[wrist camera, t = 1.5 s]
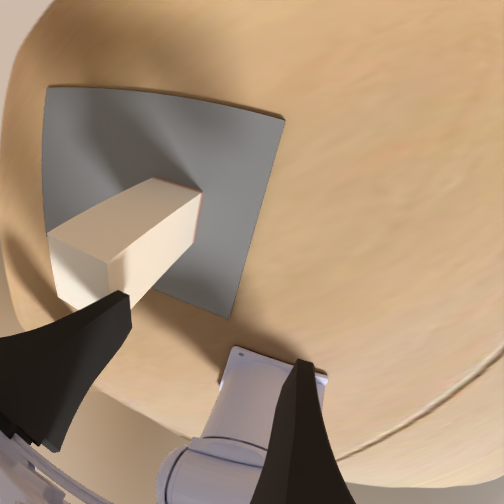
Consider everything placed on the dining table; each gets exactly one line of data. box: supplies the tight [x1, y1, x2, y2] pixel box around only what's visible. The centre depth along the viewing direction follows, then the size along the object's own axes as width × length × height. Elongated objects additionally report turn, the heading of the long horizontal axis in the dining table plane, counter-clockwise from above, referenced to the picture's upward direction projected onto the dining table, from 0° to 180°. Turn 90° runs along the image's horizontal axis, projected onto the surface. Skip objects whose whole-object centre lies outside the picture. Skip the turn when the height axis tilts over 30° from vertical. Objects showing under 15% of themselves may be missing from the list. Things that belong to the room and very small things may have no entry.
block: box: [47, 177, 203, 310], centre depth 16 cm, size 4×4×10 cm
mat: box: [42, 87, 286, 319], centre depth 21 cm, size 22×16×1 cm
